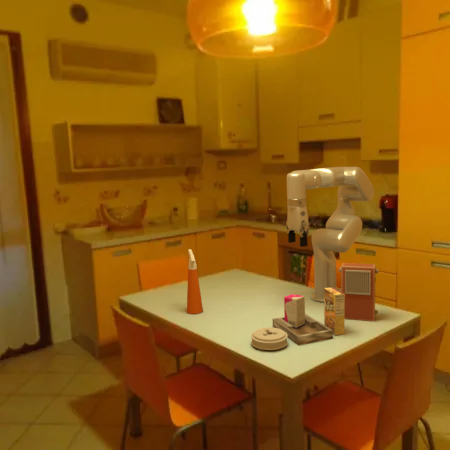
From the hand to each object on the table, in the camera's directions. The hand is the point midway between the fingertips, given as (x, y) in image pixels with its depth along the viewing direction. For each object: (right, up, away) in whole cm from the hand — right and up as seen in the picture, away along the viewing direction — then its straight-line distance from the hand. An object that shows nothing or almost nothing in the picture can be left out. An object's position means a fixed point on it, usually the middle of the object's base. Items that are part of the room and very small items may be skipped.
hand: (297, 244), depth 195 cm
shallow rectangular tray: (-2, -32, -20) cm, 37 cm away
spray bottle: (-43, -29, +10) cm, 53 cm away
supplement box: (-3, -30, -15) cm, 34 cm away
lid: (-14, -34, -29) cm, 47 cm away
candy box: (+11, -31, -20) cm, 39 cm away
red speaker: (+23, -29, -8) cm, 38 cm away
